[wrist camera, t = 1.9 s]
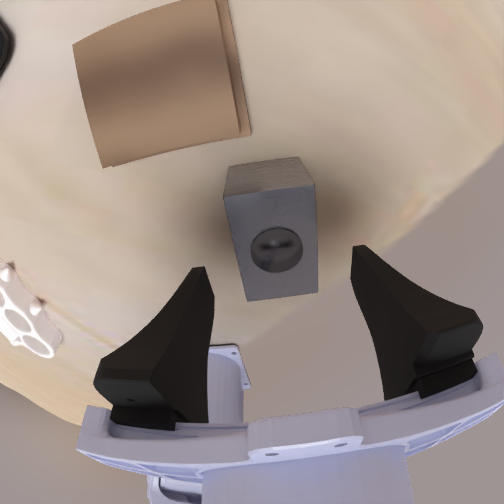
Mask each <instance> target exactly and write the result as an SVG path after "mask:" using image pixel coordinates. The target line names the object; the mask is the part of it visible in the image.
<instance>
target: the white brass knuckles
mask: <svg viewBox="0 0 504 504" xmlns="http://www.w3.org/2000/svg"><path fill="white" fill-rule="evenodd" d="M0 331H1V332H2V333H3V335H4V336H5V337H6V338H7V339H8V340H9V341H10V343H11V344H12V345H13V346H18V345H23V346H25V347H27V348H28V349H30V350H31V351H33V352H34V353H36V354H38V355H40V356H42V357H45V358H52V357H53V356H54V355H55V353H56V351H57V348H58V346H59V344H60V342H61V340H62V333H61V331H60V329H59V328H58V327H57V326H56V325H54V324H53V323H52V322H51V321H50V319H49V318H48V317H47V315H46V313H45V311H44V307H43V306H42V304H41V303H40V301H39V300H38V298H37V297H36V295H35V294H33V293H32V292H31V291H29V290H28V289H27V288H26V287H25V285H24V284H23V283H22V281H21V280H20V278H19V276H18V274H17V273H16V272H15V271H14V270H13V269H12V268H11V267H10V266H9V265H8V264H7V263H6V262H4V261H2V260H1V259H0Z"/></svg>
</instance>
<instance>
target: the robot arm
mask: <svg viewBox="0 0 504 504" xmlns="http://www.w3.org/2000/svg"><path fill="white" fill-rule="evenodd" d="M350 279H351V283H352V286H353V290H354V293H355V296H356V299H357V301H358V304H359V306H360V308H361V311H362V313H363V315H364V318H365V320H366V323H367V325H368V328H369V330H370V333H371V336H372V339H373V343H374V346H375V351H376V354H377V359H378V364H379V368H380V374H381V379H382V385H383V392H384V400H385V401H383V402H379V403H376V404H371V405H367V406H363V407H359V408H349V407H343V408H333V409H329V410H322V411H316V412H309V413H302V414H294V415H286V416H276V417H268V418H262V419H258V420H256V421H254V422H249V423H243V389H250V388H251V383H250V380H249V378H248V375H247V372H246V369H245V366H244V364H243V361H242V358H241V355H240V352H239V349H238V347H237V346H235V345H227V346H214V347H209V346H210V339H211V332H212V326H213V319H214V298H215V297H214V294H213V291H212V288H211V285H210V282H209V279H208V276H207V273H206V270H205V266H203V267H195V268H192V269H191V271H190V272H189V273H188V275H187V276H186V278H185V279H184V281H183V282H182V283H181V285H180V286H179V288H178V289H177V290H176V292H175V293H174V295H173V296H172V297H171V299H170V300H169V301H168V302H167V304H166V305H165V306H164V307H163V309H162V310H161V311H160V312H159V313H158V314H157V315H156V317H155V318H154V319H153V320H152V321H151V322H150V323H149V324H148V325H147V326H145V327H144V328H143V329H142V330H141V331H140V332H139V333H138V334H137V335H135V336H134V337H133V338H132V339H130V340H129V341H128V342H127V343H125V344H124V345H122V346H121V347H120V348H118V349H117V350H115V351H114V352H112V353H110V354H109V355H107V356H106V357H104V358H102V359H101V361H100V364H99V366H98V369H97V372H96V375H95V378H94V381H93V385H94V387H95V388H96V390H97V391H98V392H99V393H100V394H101V395H102V396H103V397H104V398H106V399H107V400H108V401H109V402H110V403H111V404H113V408H112V411H111V410H109V409H106V408H102V407H96V406H91V405H88V406H87V408H86V411H85V415H84V418H83V422H82V426H81V430H80V434H79V438H78V442H77V446H76V449H77V451H79V452H81V453H83V454H85V455H87V456H89V457H91V458H93V459H95V460H97V461H99V462H101V463H103V464H105V465H108V466H112V467H116V468H120V469H124V470H128V471H132V472H137V473H141V474H145V475H147V483H148V491H147V497H148V498H149V499H150V504H414V498H413V493H412V487H411V482H410V476H409V472H408V467H407V462H406V457H408V456H411V455H413V454H415V453H418V452H421V451H423V450H425V449H428V448H430V447H432V446H434V445H436V444H439V443H441V442H443V441H445V440H447V439H449V438H451V437H453V436H455V435H457V434H458V433H461V432H463V431H464V430H466V429H468V428H470V427H472V426H474V425H475V424H477V423H479V422H481V421H483V420H484V419H486V418H488V417H489V416H490V415H491V414H493V413H494V412H495V411H496V410H497V409H499V408H500V407H501V406H502V405H503V404H504V369H503V366H502V364H501V362H500V360H499V358H498V356H497V354H496V353H493V354H491V355H488V356H487V357H484V358H482V359H480V360H479V361H477V362H476V363H475V364H474V362H473V360H472V358H473V357H474V353H473V351H472V348H473V347H474V345H475V344H476V342H477V341H478V339H479V337H480V335H481V333H482V330H483V324H482V322H481V320H480V319H479V317H478V315H477V314H476V312H475V311H474V310H473V309H470V308H467V307H464V306H461V305H457V304H455V303H452V302H450V301H447V300H445V299H443V298H441V297H438V296H436V295H434V294H433V293H430V292H429V291H427V290H425V289H423V288H421V287H420V286H418V285H417V284H415V283H413V282H412V281H410V280H409V279H407V278H406V277H404V276H403V275H402V274H400V273H399V272H398V271H396V270H395V269H394V268H392V267H391V266H390V265H389V264H387V263H386V262H385V261H383V260H382V259H381V258H380V257H379V256H378V255H376V254H375V253H374V252H373V251H372V250H370V249H369V248H368V247H367V246H365V245H359V246H353V251H352V265H351V277H350ZM181 493H182V494H181ZM188 494H189V495H188ZM196 495H197V496H196Z"/></svg>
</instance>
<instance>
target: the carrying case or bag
mask: <svg viewBox="0 0 504 504" xmlns="http://www.w3.org/2000/svg"><path fill="white" fill-rule="evenodd" d="M9 51H10V41H9V37H8V35H7V33H6V31H5V30H4V28H3V27H2V26H1V24H0V70H1V68H2V66H3V64H4V62H5V61H6V59H7V57H8V54H9Z"/></svg>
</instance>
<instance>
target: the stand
mask: <svg viewBox="0 0 504 504" xmlns="http://www.w3.org/2000/svg"><path fill="white" fill-rule="evenodd" d="M72 46H73V52H74V58H75V63H76V69H77V74H78V79H79V83H80V88H81V92H82V97H83V101H84V105H85V109H86V113H87V117H88V121H89V124H90V128H91V131H92V135H93V138H94V142H95V145H96V148H97V152H98V155H99V158H100V161H101V164H102V167H103V168H106V167H109V166H112V167H115V166H118V165H121V164H125V163H128V162H131V161H135V160H138V159H142V158H146V157H150V156H153V155H157V154H161V153H165V152H169V151H173V150H178V149H182V148H186V147H191V146H196V145H200V144H205V143H210V142H216V141H221V140H227V139H232V138H238V137H244V136H251V130H250V124H249V118H248V112H247V107H246V101H245V95H244V89H243V84H242V78H241V73H240V67H239V62H238V56H237V51H236V45H235V40H234V35H233V29H232V24H231V19H230V14H229V9H228V4H227V0H181V1H177V2H174V3H170V4H167V5H164V6H160V7H157V8H154V9H151V10H148V11H146V12H143V13H140V14H137V15H135V16H132V17H130V18H127V19H125V20H122V21H120V22H117V23H115V24H113V25H111V26H108V27H106V28H104V29H102V30H100V31H98V32H96V33H94V34H92V35H90V36H88V37H86V38H84V39H82V40H80V41H78V42H76V43H75V44H73V45H72Z"/></svg>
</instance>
